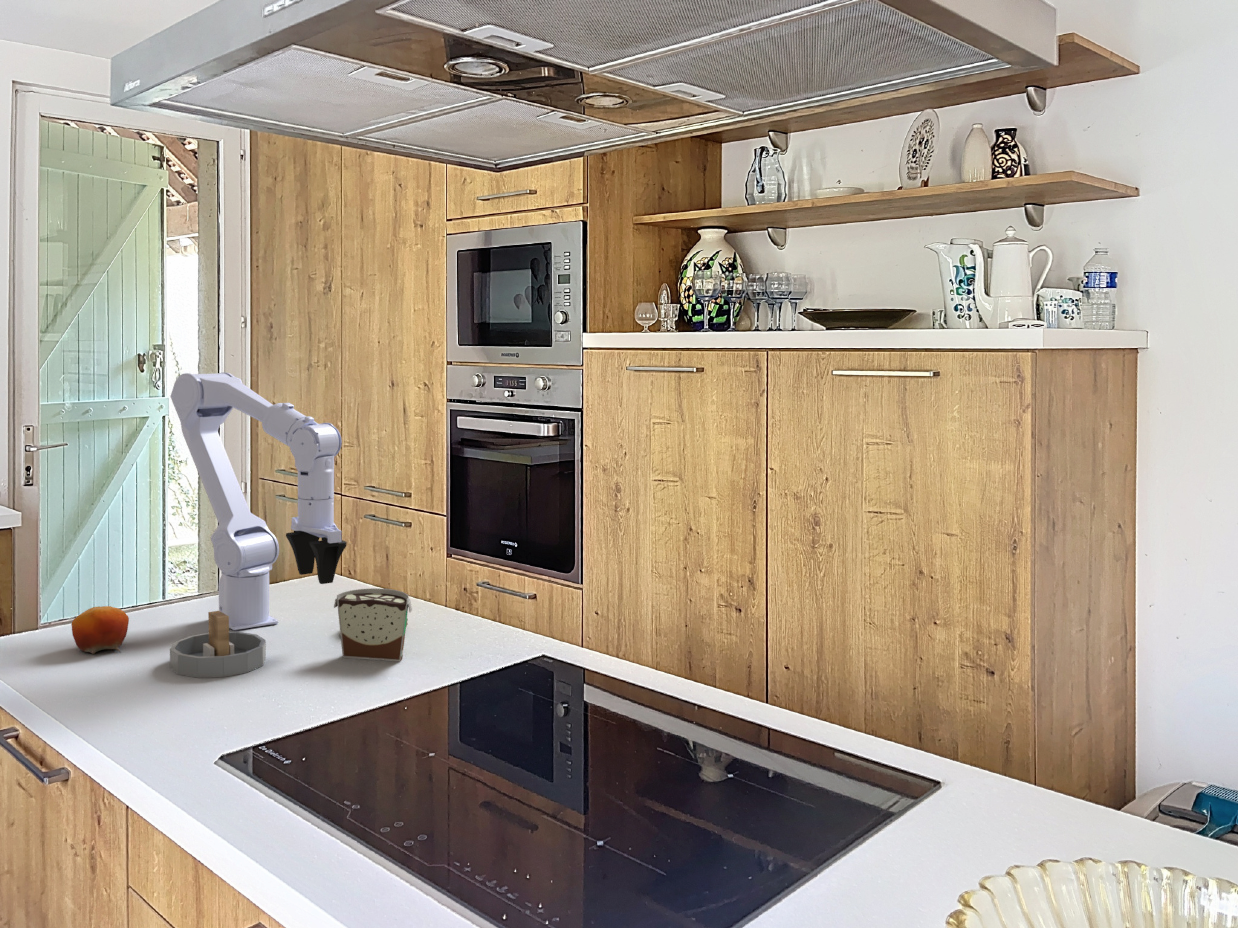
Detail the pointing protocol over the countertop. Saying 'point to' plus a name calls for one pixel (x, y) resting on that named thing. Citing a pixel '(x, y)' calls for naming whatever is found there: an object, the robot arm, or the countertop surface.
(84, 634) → the fruit
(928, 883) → the countertop surface
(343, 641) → the food container
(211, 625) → the tan wooden beam
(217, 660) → the grey faceted hollow container
